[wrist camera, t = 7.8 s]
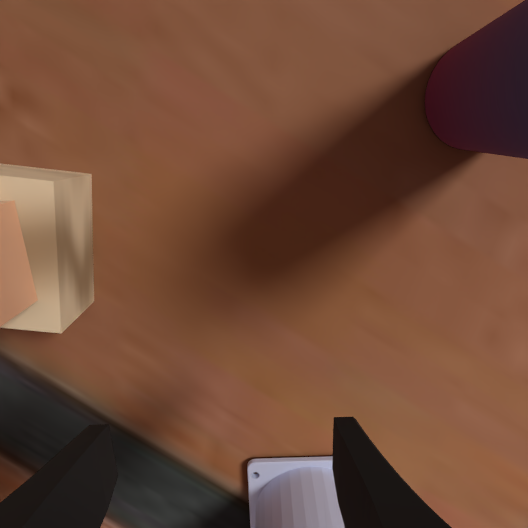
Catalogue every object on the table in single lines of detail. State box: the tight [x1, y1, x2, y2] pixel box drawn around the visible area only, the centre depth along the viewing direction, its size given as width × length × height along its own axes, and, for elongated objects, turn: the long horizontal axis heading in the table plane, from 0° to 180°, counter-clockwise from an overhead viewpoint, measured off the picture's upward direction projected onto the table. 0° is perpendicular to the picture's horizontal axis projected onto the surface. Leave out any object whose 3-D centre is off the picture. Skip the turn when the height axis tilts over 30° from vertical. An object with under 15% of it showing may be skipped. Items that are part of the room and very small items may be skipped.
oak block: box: [0, 164, 94, 333], centre depth 19 cm, size 7×7×4 cm
